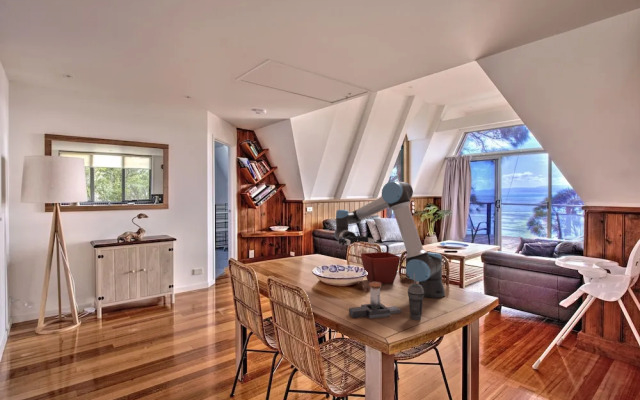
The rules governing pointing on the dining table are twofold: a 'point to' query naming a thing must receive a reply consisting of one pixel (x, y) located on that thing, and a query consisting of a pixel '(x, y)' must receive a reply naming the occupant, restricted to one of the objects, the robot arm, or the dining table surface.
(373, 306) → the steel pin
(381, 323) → the dining table surface
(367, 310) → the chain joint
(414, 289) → the beverage cup
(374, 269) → the plant pot
